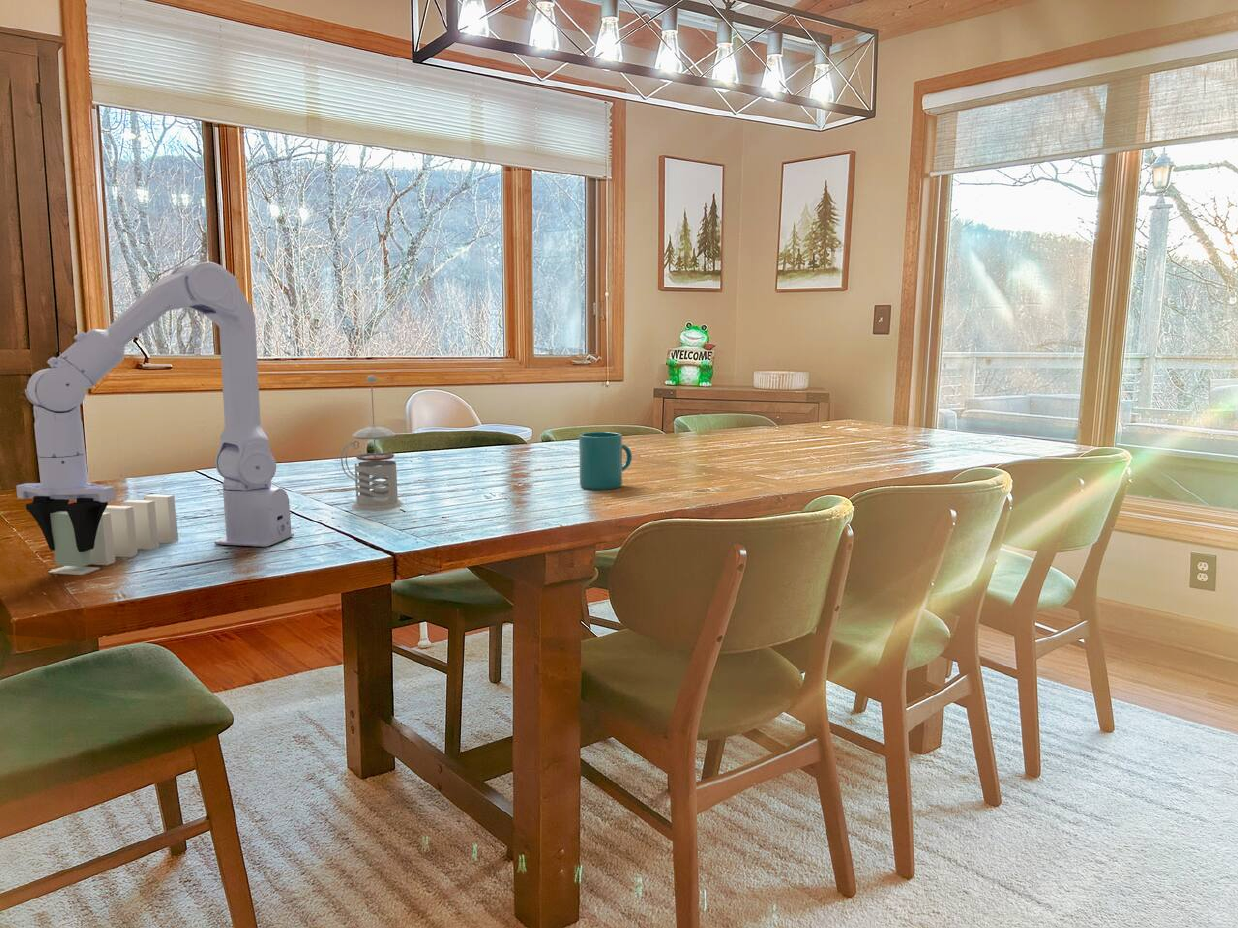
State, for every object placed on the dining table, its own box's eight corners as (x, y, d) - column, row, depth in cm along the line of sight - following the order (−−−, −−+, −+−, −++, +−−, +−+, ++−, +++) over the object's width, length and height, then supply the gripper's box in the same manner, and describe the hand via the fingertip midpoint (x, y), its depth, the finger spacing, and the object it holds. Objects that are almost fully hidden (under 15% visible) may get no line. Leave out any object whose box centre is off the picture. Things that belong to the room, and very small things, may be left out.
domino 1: (64, 562, 128) (59, 511, 127) (91, 563, 127) (85, 512, 126) (55, 565, 126) (50, 513, 125) (82, 566, 125) (76, 514, 124)
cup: (641, 486, 190) (641, 434, 188) (592, 492, 184) (591, 438, 182) (620, 480, 198) (620, 430, 196) (572, 485, 192) (571, 433, 190)
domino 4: (134, 546, 141) (130, 499, 140) (158, 547, 140) (154, 500, 139) (126, 548, 140) (122, 501, 138) (151, 549, 139) (147, 502, 138)
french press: (389, 511, 166) (383, 377, 162) (332, 509, 168) (325, 376, 164) (412, 501, 176) (406, 374, 172) (357, 499, 178) (351, 373, 174)
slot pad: (99, 568, 128) (99, 567, 128) (81, 575, 125) (81, 573, 125) (66, 566, 129) (66, 565, 129) (48, 572, 126) (48, 571, 126)
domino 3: (112, 553, 137) (108, 505, 136) (137, 554, 136) (133, 506, 135) (105, 555, 135) (100, 507, 134) (129, 557, 134) (125, 508, 133)
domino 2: (90, 560, 132) (85, 511, 131) (115, 562, 132) (110, 512, 130) (81, 563, 131) (76, 513, 130) (107, 565, 130) (102, 514, 129)
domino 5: (154, 539, 145) (150, 494, 144) (178, 540, 145) (174, 495, 143) (147, 541, 144) (143, 496, 143) (171, 542, 143) (167, 497, 142)
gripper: (-7, 457, 122) (4, 554, 124) (83, 460, 119) (93, 559, 121) (36, 450, 129) (46, 541, 131) (123, 453, 126) (131, 546, 128)
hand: (71, 549), depth 126 cm, fingers closed on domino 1, 4 cm apart
